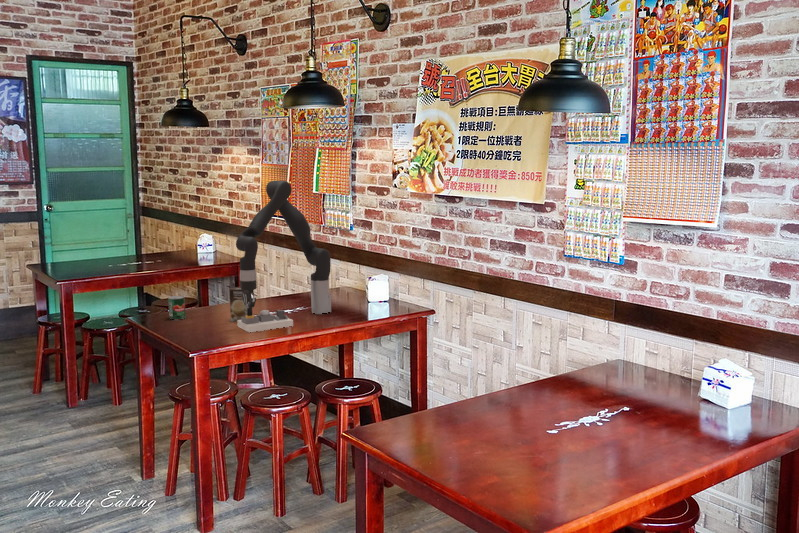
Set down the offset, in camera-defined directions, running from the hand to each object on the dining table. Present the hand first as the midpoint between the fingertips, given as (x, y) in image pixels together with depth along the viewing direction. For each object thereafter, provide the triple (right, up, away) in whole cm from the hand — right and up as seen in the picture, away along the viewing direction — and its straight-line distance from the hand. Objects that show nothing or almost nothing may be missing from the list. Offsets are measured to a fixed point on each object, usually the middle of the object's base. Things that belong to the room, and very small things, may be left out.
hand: (249, 315), depth 348 cm
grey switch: (+6, -1, +4) cm, 8 cm away
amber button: (0, -3, +1) cm, 3 cm away
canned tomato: (-41, -3, +24) cm, 47 cm away
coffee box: (-8, -4, +18) cm, 20 cm away
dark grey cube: (+13, -2, +6) cm, 15 cm away
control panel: (+6, -5, +5) cm, 10 cm away
